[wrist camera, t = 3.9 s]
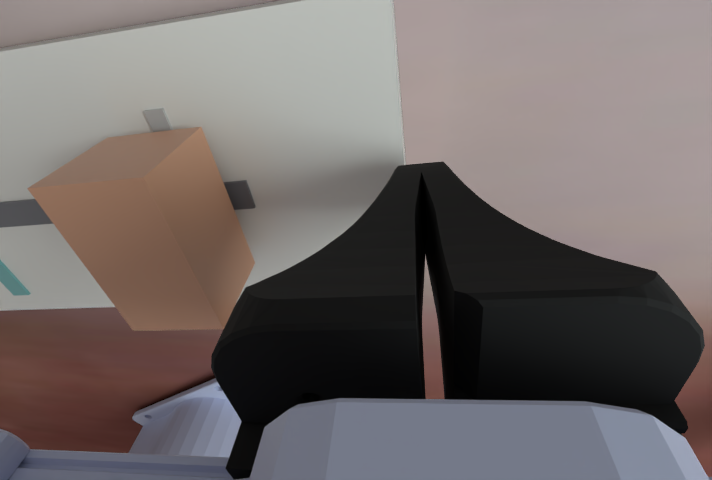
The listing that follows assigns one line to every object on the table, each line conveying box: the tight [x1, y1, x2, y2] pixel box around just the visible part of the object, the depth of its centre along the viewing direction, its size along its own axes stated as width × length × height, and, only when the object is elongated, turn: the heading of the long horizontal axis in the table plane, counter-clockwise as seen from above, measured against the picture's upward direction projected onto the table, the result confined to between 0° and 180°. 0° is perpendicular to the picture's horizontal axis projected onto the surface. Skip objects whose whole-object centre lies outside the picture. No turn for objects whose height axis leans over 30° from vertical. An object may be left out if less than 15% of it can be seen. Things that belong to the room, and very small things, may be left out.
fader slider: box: [27, 127, 255, 331], centre depth 11 cm, size 3×5×3 cm, turn 9°
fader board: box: [0, 0, 406, 311], centre depth 14 cm, size 24×10×2 cm, turn 98°
